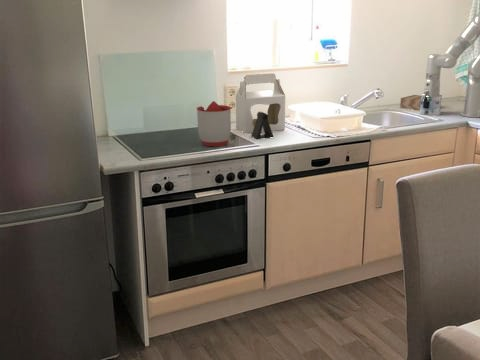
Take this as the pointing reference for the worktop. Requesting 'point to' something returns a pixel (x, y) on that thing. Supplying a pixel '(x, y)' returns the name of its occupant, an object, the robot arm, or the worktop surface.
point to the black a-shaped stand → (262, 122)
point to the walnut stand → (411, 102)
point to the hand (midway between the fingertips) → (429, 107)
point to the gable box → (260, 97)
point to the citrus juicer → (214, 124)
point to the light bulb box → (432, 106)
